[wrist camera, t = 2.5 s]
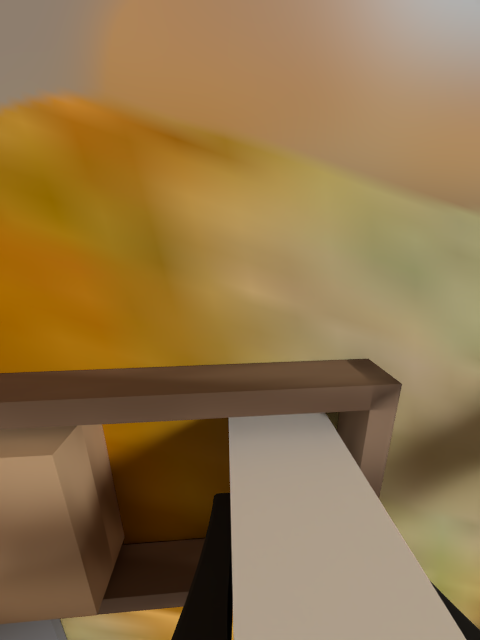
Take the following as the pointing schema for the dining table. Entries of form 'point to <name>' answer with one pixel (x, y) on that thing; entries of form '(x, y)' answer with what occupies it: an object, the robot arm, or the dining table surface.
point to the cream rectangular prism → (318, 542)
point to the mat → (33, 630)
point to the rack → (203, 403)
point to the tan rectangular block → (56, 522)
